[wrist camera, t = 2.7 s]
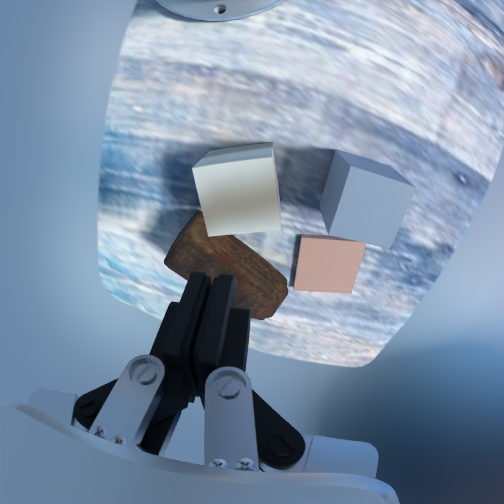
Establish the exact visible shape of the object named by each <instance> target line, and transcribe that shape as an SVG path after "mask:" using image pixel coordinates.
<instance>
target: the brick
mask: <svg viewBox="0 0 504 504" xmlns="http://www.w3.org/2000/svg"><path fill="white" fill-rule="evenodd" d="M164 264H165V265H166V266H167V267H168V268H169V269H171V270H172V271H174V272H175V273H177V274H178V275H180V276H181V277H183V278H184V279H186V280H187V281H188V279H189V277H190V274H191V272H192V271H194V272H206V274H207V276H210V277H211V280H212V283H213V280H214V277H219V275H220V274H233V275H234V285H235V308H243V309H251V314H250V318H251V319H252V318H255V319H258V320H264V319H265V318H269V317H272V316H273V315H274V313H275V312H276V310H277V309H278V308H279V306H280V305H281V303H282V302H283V300H284V299H285V298H286V296H287V295H288V288H287V279H286V278H285V277H284V276H283V275H282V274H281V273H280V272H279V271H277V270H276V269H275V268H274V267H273V266H272V265H271V264H270V263H269V262H267V261H266V260H265V259H263V258H262V257H261V256H260V255H258V254H257V253H256V252H255V251H253V250H252V249H251V248H249V247H248V246H247V245H245V244H244V243H243V242H242V241H240V240H239V239H237V238H236V237H235V236H234V235H232V234H231V235H220V236H210V237H209V236H208V232H207V228H206V224H205V220H204V216H203V212H202V211H197V213H196V214H195V215H194V216H193V217H192V218H191V220H190V221H189V222H188V223H187V225H186V226H185V227H184V228H183V230H182V231H181V232H180V234H179V235H178V237H177V239H176V240H175V242H174V243H173V244H172V246H171V247H170V250H169V251H168V254H167V256H166V258H165V260H164Z"/></svg>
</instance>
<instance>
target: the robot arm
mask: <svg viewBox="0 0 504 504" xmlns="http://www.w3.org/2000/svg"><path fill="white" fill-rule="evenodd" d="M156 1H157V2H158V3H159V4H160V5H161V6H163V7H164V8H166V9H168V10H169V11H171V12H174V13H176V14H178V15H180V16H184V17H187V18H191V19H196V20H205V21H227V20H234V19H241V18H245V17H249V16H253V15H257V14H260V13H262V12H265V11H267V10H270V9H272V8H274V7H276V6H278V5H279V4H281V3H283V2H284V1H286V0H156ZM220 10H225V12H224V13H222V14H219V11H220ZM250 314H251V309H243V308H235V285H234V275H233V274H220V275H219V277H214V280H213V283H212V280H211V277H210V276H207V274H206V272H194V271H192V272H191V274H190V277H189V279H188V282H187V284H186V287H185V290H184V292H183V295H182V297H181V300H180V302H171V303H170V304H169V306H168V309H167V311H166V313H165V316H164V318H163V321H162V323H161V326H160V328H159V331H158V333H157V336H156V338H155V341H154V344H153V346H152V349H151V351H150V354H149V355H140V356H137V357H135V358H133V359H132V360H131V361H130V362H129V363H128V364H127V366H126V367H125V369H124V371H123V372H122V374H121V376H120V377H119V378H118V379H116V380H113V381H111V382H110V383H107V384H105V385H103V386H101V387H99V388H97V389H94V390H92V391H90V392H88V393H86V394H84V395H82V396H77V395H76V394H73V393H65V392H58V391H52V390H46V389H37V390H35V391H34V392H33V393H32V394H31V395H30V398H29V401H28V405H26V404H24V403H20V402H15V401H1V402H0V504H399V501H398V498H397V495H396V493H395V491H394V490H393V489H392V487H390V486H389V485H388V484H386V483H384V482H382V481H379V480H377V479H375V476H376V470H377V464H378V452H377V450H376V449H375V447H373V446H372V445H371V444H369V443H365V442H358V441H349V440H342V439H335V438H329V437H322V436H317V435H314V436H308V435H303V434H300V433H299V432H298V431H297V430H296V429H295V428H294V427H292V426H291V425H290V424H289V423H288V422H287V421H285V420H284V419H283V418H282V417H281V416H280V415H279V414H278V413H277V412H276V411H275V410H274V409H272V408H271V407H270V406H269V405H268V404H267V403H266V402H265V401H264V400H263V399H262V398H261V397H260V396H259V395H258V394H257V393H256V392H254V390H253V389H252V387H251V382H250V378H249V377H248V375H247V374H246V373H245V370H246V362H247V352H248V343H249V333H250ZM195 396H197V397H199V396H200V398H201V402H202V405H203V408H204V410H205V435H204V436H205V438H204V440H205V441H204V447H205V449H204V450H205V451H204V453H205V466H204V465H198V464H192V463H187V462H182V461H178V460H173V459H169V458H164V457H163V456H164V454H165V451H166V449H167V446H168V444H169V442H170V439H171V437H172V435H173V432H174V430H175V427H176V425H177V423H178V420H179V418H180V415H181V412H182V410H183V409H185V408H187V407H188V403H189V402H192V403H194V400H195ZM259 469H260V470H261V471H262V472H259Z"/></svg>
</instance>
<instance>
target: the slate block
mask: <svg viewBox="0 0 504 504" xmlns="http://www.w3.org/2000/svg"><path fill="white" fill-rule="evenodd" d="M415 188H416V187H415V186H413V185H412V184H411V183H410V182H409V181H408V180H406V179H405V178H404V177H403V176H402V175H400V174H399V173H398V172H397V171H395V170H394V169H393V168H392V167H390V166H388V165H385V164H382V163H379V162H376V161H373V160H370V159H367V158H364V157H360V156H357V155H354V154H350V153H347V152H343V151H340V150H336V149H335V151H334V155H333V158H332V162H331V166H330V169H329V173H328V176H327V180H326V183H325V187H324V190H323V193H322V197H321V200H320V204H319V207H320V210H321V213H322V216H323V220H324V223H325V226H326V229H327V232H328V235H331V236H336V237H340V238H345V239H349V240H354V241H358V242H363V243H367V244H372V245H376V246H380V247H385V248H389V249H390V247H391V245H392V243H393V241H394V239H395V236H396V234H397V232H398V230H399V227H400V225H401V223H402V220H403V218H404V216H405V213H406V211H407V208H408V206H409V203H410V201H411V198H412V196H413V193H414V191H415Z"/></svg>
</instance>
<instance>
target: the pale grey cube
mask: <svg viewBox="0 0 504 504" xmlns="http://www.w3.org/2000/svg"><path fill="white" fill-rule="evenodd" d="M192 170H193V175H194V179H195V183H196V188H197V192H198V196H199V200H200V204H201V208H202V212H203V216H204V220H205V224H206V228H207V232H208V236H209V237H210V236H220V235H231V234H242V233H253V232H264V231H275V230H281V217H280V197H279V188H278V180H277V171H276V163H275V155H274V148H273V142H269V143H260V144H252V145H244V146H237V147H230V148H223V149H217V150H211V151H208V152H207V153H206V154H205V155H204V156H203V158H202V159H201V160H200V161H199V162H198V163H197V164H196V165H195V166H194V167H193V168H192Z"/></svg>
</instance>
